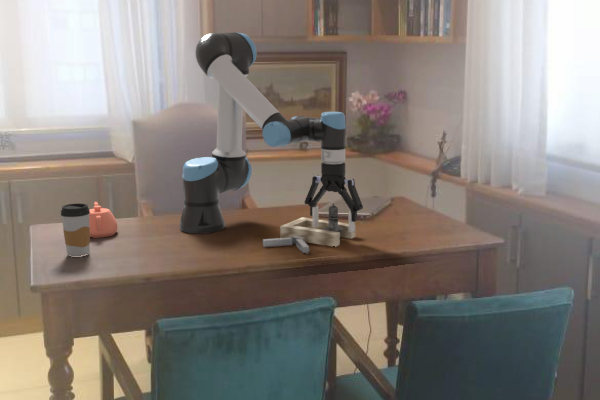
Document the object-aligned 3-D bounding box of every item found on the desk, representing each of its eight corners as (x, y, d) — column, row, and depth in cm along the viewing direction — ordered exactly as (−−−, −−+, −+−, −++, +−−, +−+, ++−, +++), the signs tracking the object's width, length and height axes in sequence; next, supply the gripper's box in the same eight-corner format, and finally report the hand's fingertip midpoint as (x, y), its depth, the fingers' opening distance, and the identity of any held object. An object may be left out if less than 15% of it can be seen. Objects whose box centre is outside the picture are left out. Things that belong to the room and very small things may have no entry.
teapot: (80, 242, 237) (78, 213, 235) (79, 228, 253) (77, 201, 251) (119, 238, 240) (117, 210, 238) (116, 225, 257) (114, 198, 255)
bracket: (280, 238, 239) (280, 226, 238) (302, 228, 250) (302, 217, 249) (335, 246, 229) (335, 234, 228) (355, 236, 240) (355, 224, 239)
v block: (277, 239, 238) (277, 233, 238) (323, 246, 230) (323, 240, 229) (260, 246, 230) (260, 240, 229) (307, 254, 221) (307, 247, 221)
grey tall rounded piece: (340, 242, 233) (341, 205, 231) (322, 241, 234) (322, 204, 232) (343, 237, 239) (343, 201, 236) (325, 236, 240) (325, 200, 237)
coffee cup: (82, 249, 228) (78, 201, 225) (98, 254, 223) (95, 205, 220) (58, 255, 222) (54, 206, 219) (74, 260, 217) (70, 210, 214)
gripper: (293, 160, 234) (294, 226, 239) (363, 167, 222) (362, 236, 227) (305, 157, 240) (306, 221, 245) (374, 163, 228) (373, 230, 233)
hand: (333, 228), depth 236 cm, fingers open, 12 cm apart
